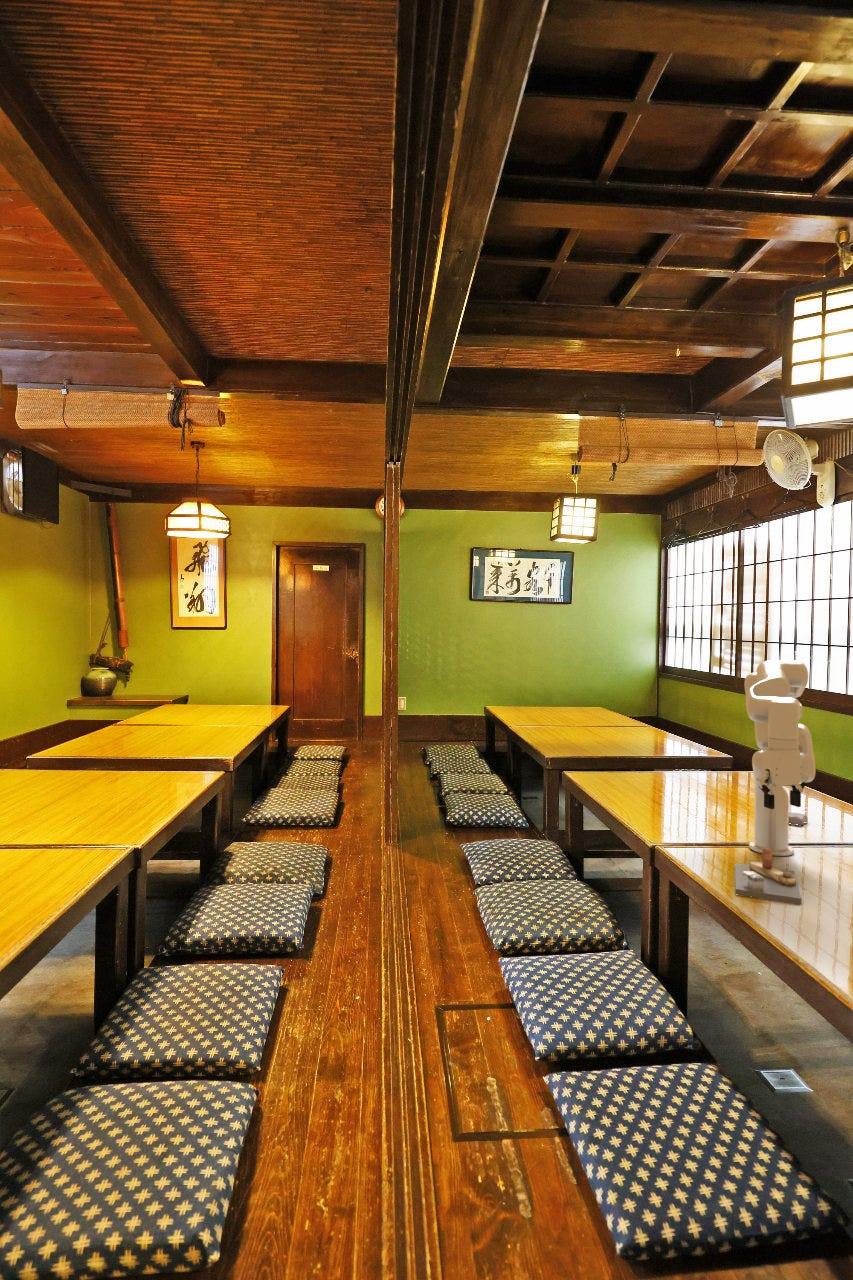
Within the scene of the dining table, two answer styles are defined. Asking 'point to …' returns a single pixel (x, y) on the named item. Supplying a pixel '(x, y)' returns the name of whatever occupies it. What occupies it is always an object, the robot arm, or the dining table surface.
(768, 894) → the base board
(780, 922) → the dining table surface
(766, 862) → the ash link
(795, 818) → the stone block
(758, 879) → the block
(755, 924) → the dining table surface
